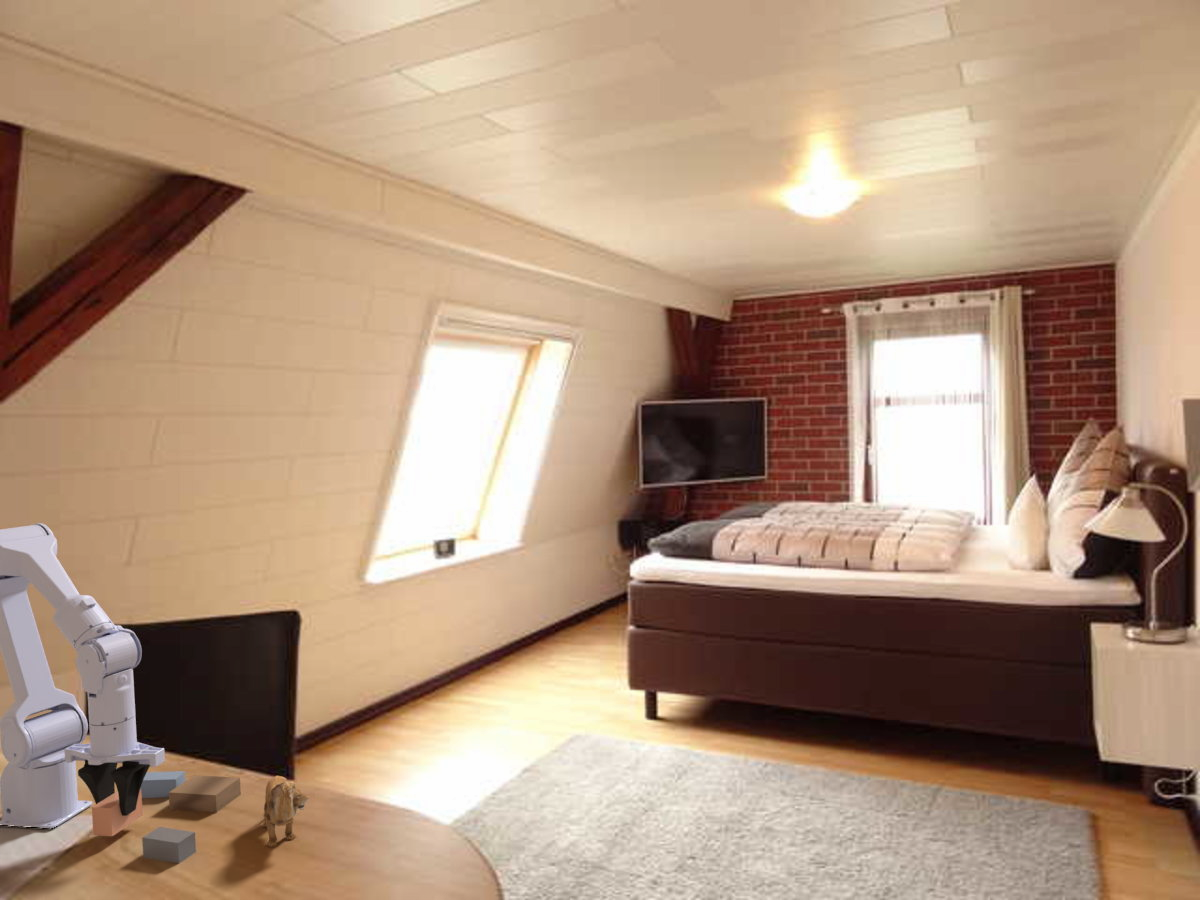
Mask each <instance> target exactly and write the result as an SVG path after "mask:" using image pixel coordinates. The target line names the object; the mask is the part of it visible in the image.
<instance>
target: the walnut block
mask: <svg viewBox="0 0 1200 900" xmlns="http://www.w3.org/2000/svg"><path fill="white" fill-rule="evenodd" d="M185 780H186V779H185ZM241 790H242V788H241V778H240V777H234V776H233V777H232V776H213V775H201V774H200V775H197V774H194V775H193V776H191V777H189V778H188V779H187V780H186V781H185V782H183V783H182V784H180V785H179V786H177V787H176V788H174V789H173V790H171V791H170V792H169V797H168V804H169V805H168V806H169V810H172V811H190V812H202V813H203V812H204V813H218V812H220V811H221V810H222V809H224V808H225V807H226V806H227V805H229V804H230V803H232V802H233V801H234V800H235V799H237V798H238V797H240V796H241V794H242V792H241Z"/></svg>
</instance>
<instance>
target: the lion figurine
mask: <svg viewBox="0 0 1200 900" xmlns="http://www.w3.org/2000/svg"><path fill="white" fill-rule="evenodd" d="M309 798H310V797H309V795H308V794H305V793H303V792H301V790H300V789H299V788H296V784H295V782H294V781H288V779H287V778H286V777H284V776H281V775H275V776H274V777H271V778H270V780H269V781H267V784H266V787H265V798H264V799H265V802H264V806H263V810H264V815H265V819H264V821H263V823H262V828H267V829H266V830H267V835H268V841H267V843H266V844H267V846H268V847H274V846H277V844H278V843H277V842H278V837H277V835H276V830H275V829H276V827H281V826H285V830H284V836H285V837H286V840H288V839H292V840H294V839H295V838H297V834H296V833H294V832H293V824H294V817H295V816H296V815H297V810H299V811H303V810H304V808H305V805H306V803H307V802H308V800H309ZM293 838H294V839H293Z"/></svg>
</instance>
